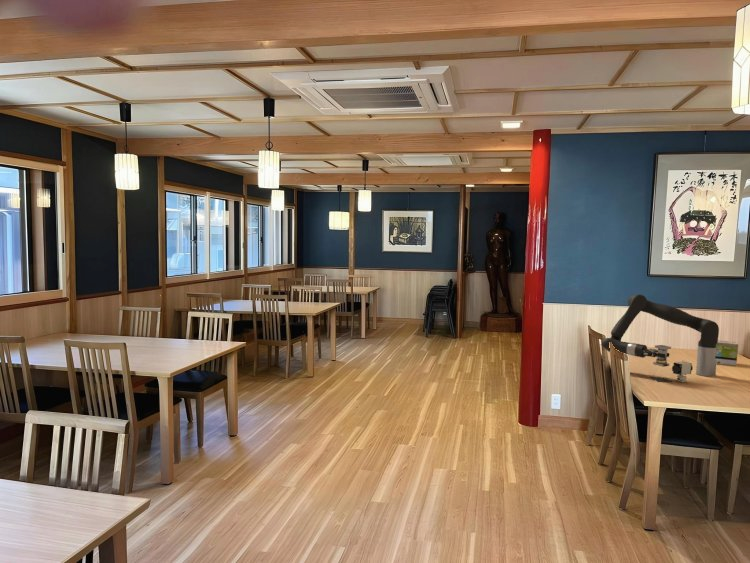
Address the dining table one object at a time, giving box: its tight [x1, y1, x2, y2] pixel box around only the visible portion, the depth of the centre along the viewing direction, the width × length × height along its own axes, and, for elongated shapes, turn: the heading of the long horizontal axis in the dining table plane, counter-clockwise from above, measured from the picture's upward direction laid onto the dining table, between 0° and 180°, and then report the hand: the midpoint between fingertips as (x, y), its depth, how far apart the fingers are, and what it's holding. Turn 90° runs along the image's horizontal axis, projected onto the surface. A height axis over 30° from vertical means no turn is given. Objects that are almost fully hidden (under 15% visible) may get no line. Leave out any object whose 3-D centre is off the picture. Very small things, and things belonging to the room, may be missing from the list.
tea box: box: [715, 339, 739, 366], centre depth 360 cm, size 15×10×15 cm, turn 68°
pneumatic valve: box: [671, 360, 694, 383], centre depth 307 cm, size 6×12×12 cm, turn 115°
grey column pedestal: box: [652, 344, 672, 368], centre depth 309 cm, size 6×6×11 cm
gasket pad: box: [650, 376, 673, 383], centre depth 310 cm, size 8×8×1 cm
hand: (667, 355), depth 307 cm, fingers closed on grey column pedestal, 4 cm apart
